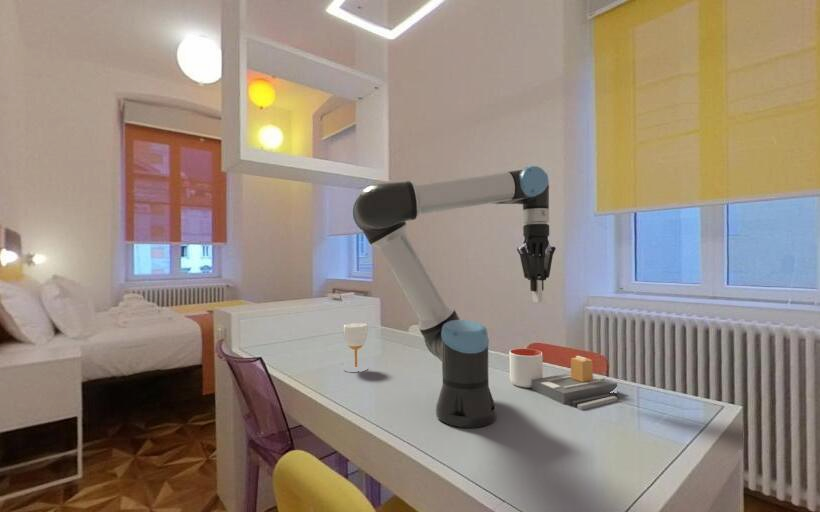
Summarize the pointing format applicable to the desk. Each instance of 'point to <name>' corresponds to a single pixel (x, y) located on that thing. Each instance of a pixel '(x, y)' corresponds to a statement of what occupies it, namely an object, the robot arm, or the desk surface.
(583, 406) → the cord grey
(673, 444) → the desk surface
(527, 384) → the cup
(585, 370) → the breaker toggle
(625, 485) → the desk surface
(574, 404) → the black bar
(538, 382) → the box
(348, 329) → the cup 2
